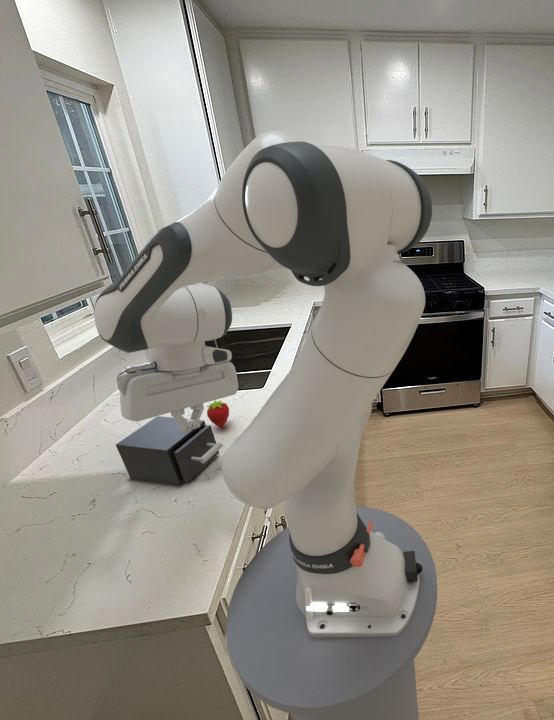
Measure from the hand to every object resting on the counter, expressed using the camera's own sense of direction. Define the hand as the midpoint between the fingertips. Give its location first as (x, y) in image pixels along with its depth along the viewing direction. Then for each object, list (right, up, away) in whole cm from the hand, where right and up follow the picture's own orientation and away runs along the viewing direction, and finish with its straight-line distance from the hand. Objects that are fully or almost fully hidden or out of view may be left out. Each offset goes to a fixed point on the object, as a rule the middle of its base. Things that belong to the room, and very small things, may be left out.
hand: (190, 429), depth 74 cm
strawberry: (-15, -7, +43) cm, 46 cm away
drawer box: (-20, -14, +27) cm, 37 cm away
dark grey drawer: (-15, -14, +26) cm, 33 cm away
